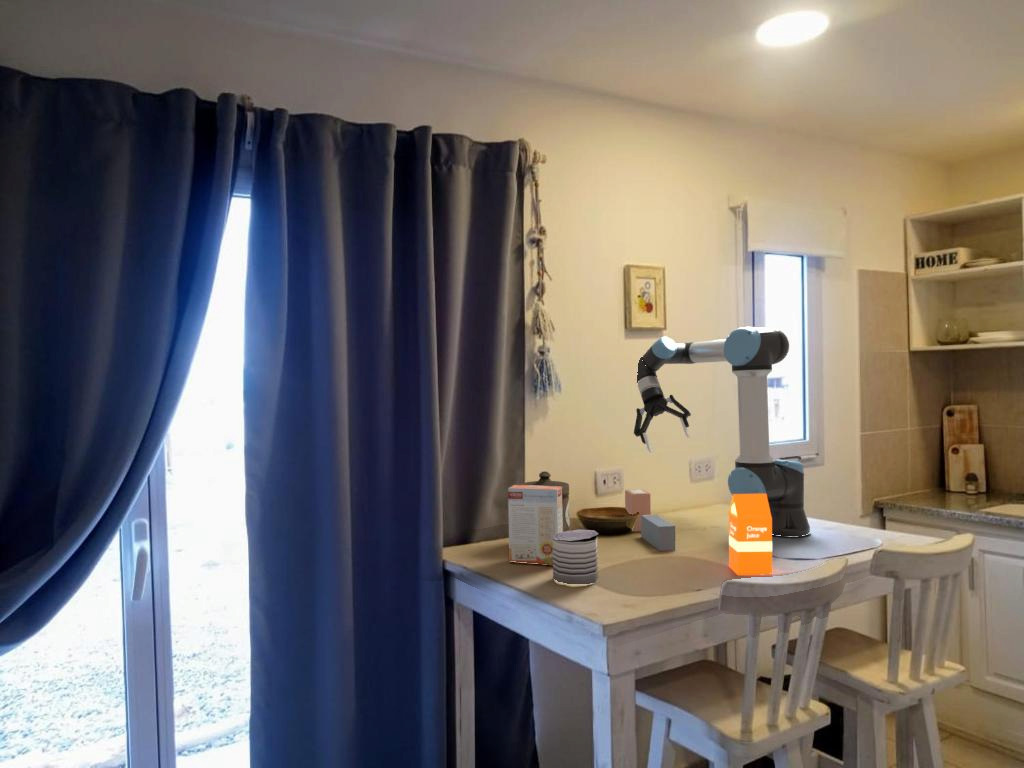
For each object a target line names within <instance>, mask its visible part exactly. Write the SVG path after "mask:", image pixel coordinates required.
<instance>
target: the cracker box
mask: <svg viewBox="0 0 1024 768" xmlns="http://www.w3.org/2000/svg"><path fill="white" fill-rule="evenodd" d="M507 495H508V497H507V499H508V500H507V501H508V505H507V506H508V507H507V508H508V510H507V511H508V515H507V516H508V552H509V553H508V554H509V555H508V557H509V559H508V561H516V562H527V563H538V564H547V565H553V537H552V536H553V535H555V534H558V533H560V532H563V516H562V487H561V486H536V485H521V484H514V485H512V486H509V487H508V488H507Z"/></svg>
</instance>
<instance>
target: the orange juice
mask: <svg viewBox="0 0 1024 768" xmlns="http://www.w3.org/2000/svg"><path fill="white" fill-rule="evenodd" d="M731 498H732V499H731V503H730V506H729V511H728V561H729V562H728V563H729V565H728V567H729V568H730V569H731V570H732V571H733V573H735V574H736V575H737V576H762V575H761V574H770V573H771V574H772V575H773V536H772V517H771V513H770V508H769V504H768V499H767V494H733V496H732V497H731Z"/></svg>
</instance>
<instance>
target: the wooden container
mask: <svg viewBox="0 0 1024 768" xmlns="http://www.w3.org/2000/svg"><path fill="white" fill-rule="evenodd" d="M538 476H539V479H538V480H534V481H527V482H523V483H521V484H520V485H536V486H561V487H562V516H563V532H564V531H571V530H570V528H571V527H570V524H571V522H570V498H569V497H570V484H569V483H568V482H563V481H558V480H556V481H555V480H551V479H550V478H551V476H552V475H551V473H550V472H548V471H546V470H545V471H541V472H540V473H539V474H538Z"/></svg>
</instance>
